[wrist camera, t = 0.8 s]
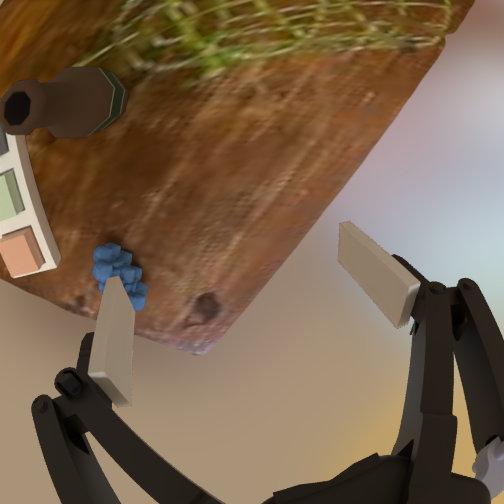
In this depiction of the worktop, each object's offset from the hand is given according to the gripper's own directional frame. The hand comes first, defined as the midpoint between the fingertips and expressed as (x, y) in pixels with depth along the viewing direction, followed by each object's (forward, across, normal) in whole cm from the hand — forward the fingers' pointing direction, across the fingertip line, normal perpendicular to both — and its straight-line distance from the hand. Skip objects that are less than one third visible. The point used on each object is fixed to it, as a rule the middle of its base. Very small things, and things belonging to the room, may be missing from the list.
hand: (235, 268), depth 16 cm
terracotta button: (+24, -30, -4) cm, 39 cm away
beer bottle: (+27, -11, +12) cm, 32 cm away
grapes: (+27, -15, -12) cm, 33 cm away
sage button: (+24, -29, +5) cm, 38 cm away
